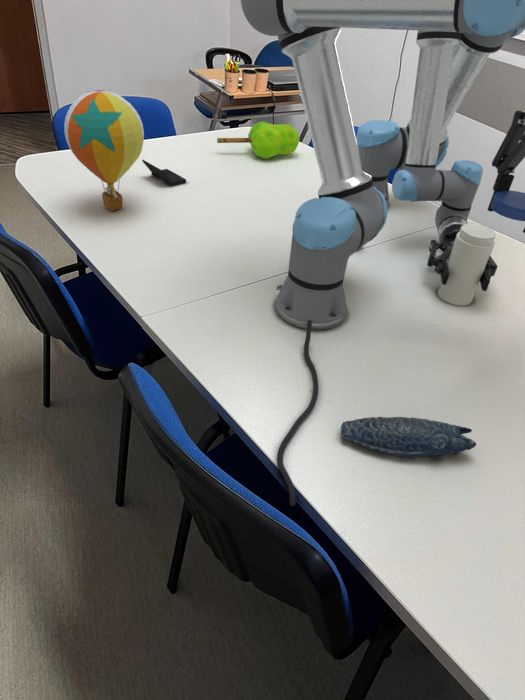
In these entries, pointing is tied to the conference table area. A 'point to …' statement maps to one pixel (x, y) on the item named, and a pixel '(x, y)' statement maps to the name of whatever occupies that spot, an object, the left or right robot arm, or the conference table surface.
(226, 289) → the conference table surface
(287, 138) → the decorative tree
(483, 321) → the conference table surface
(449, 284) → the jar
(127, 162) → the toy
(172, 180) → the black angled piece
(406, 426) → the fish model
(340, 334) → the conference table surface
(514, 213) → the lid
